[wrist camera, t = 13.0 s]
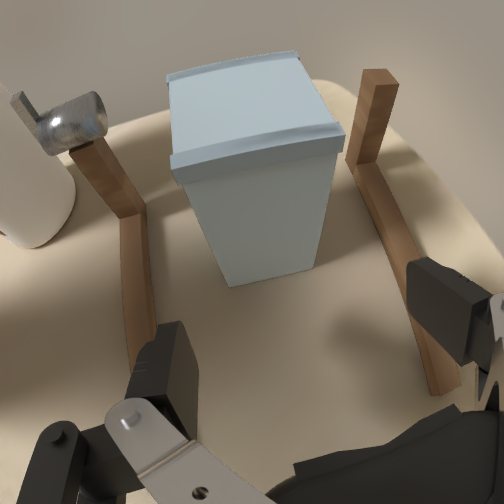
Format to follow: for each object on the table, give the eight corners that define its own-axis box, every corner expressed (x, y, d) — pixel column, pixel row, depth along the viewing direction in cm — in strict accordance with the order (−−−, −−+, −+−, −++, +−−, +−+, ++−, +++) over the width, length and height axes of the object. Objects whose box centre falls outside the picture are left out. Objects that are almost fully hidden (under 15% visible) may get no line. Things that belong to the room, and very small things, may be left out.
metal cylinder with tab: (46, 169, 14) (3, 115, 10) (54, 137, 15) (18, 85, 11) (105, 146, 14) (67, 81, 10) (109, 115, 15) (78, 54, 11)
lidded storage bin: (228, 289, 19) (170, 169, 9) (214, 214, 21) (166, 74, 11) (314, 269, 19) (345, 134, 9) (292, 197, 21) (294, 50, 11)
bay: (156, 462, 15) (80, 495, 8) (126, 210, 22) (72, 134, 15) (451, 386, 15) (540, 371, 8) (363, 156, 22) (386, 68, 15)
